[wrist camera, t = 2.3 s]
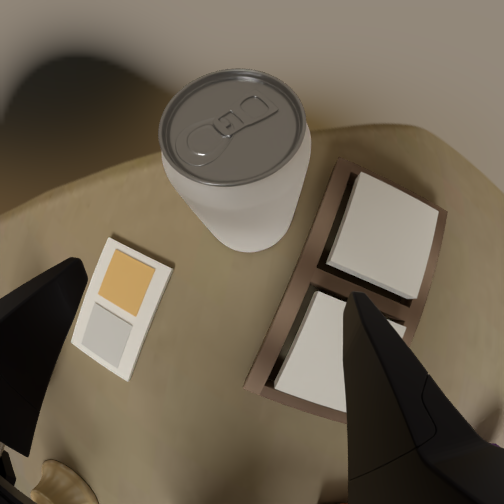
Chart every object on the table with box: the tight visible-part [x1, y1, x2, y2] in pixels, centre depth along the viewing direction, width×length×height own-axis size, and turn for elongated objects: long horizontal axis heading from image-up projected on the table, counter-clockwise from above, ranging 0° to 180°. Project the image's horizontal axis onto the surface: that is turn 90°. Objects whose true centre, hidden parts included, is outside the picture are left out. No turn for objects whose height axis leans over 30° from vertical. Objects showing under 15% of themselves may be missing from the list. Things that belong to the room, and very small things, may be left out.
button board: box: [243, 157, 447, 424], centre depth 19 cm, size 18×10×2 cm, turn 157°
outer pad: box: [326, 172, 439, 299], centre depth 18 cm, size 7×7×2 cm
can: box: [158, 69, 311, 252], centre depth 16 cm, size 6×6×12 cm
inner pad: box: [274, 291, 406, 412], centre depth 17 cm, size 7×7×2 cm
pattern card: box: [71, 237, 174, 382], centre depth 21 cm, size 10×6×1 cm, turn 157°
